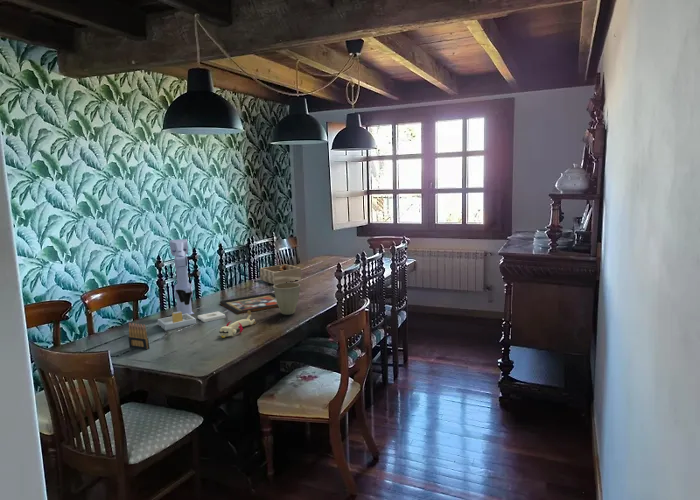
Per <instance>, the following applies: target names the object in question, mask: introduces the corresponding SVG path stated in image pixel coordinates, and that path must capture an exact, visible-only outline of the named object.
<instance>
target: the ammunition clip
mask: <svg viewBox="0 0 700 500" xmlns="http://www.w3.org/2000/svg"><path fill="white" fill-rule="evenodd" d="M128 345H129V348H131V349H137V350H145V351H147V350H149V349H150V344H149V337H148V332H147V328H146V325H145V323H143V324H142V323H136V322H130V321H129V322H128Z"/></svg>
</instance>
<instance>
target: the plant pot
mask: <svg viewBox="0 0 700 500" xmlns="http://www.w3.org/2000/svg"><path fill="white" fill-rule="evenodd" d="M272 288H273V293H274V294H275V297H276V301H277V304H278V306H279V307H278V309H279V311H280V313H281V315H293V314H295V312H296V309H297V305H298V301H299V297H300V288H301V284H300V283H298V282H287V283H279V284H276V285H274V284H273V287H272Z"/></svg>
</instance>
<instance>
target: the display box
mask: <svg viewBox="0 0 700 500" xmlns="http://www.w3.org/2000/svg"><path fill="white" fill-rule="evenodd" d="M283 265H286V267H287V269H286V270H284V271H279V267H281V266H283ZM301 269H302V268H301V267H298V266H294V265H290V264H286V263H283V264H279V265H272V266H265V267H261V268H259V274H260V275H259V276H260V279H259V280H260V281H263V282H266V283H268V284H272V285H273V286H274V285H276V284H279V283H286V282H287V283H288V282H290V281H293V282H296V281H295V280H298V281H302V270H301Z"/></svg>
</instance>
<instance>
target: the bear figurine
mask: <svg viewBox="0 0 700 500" xmlns="http://www.w3.org/2000/svg"><path fill="white" fill-rule="evenodd" d="M282 265H283V266H281V267H279V271H284V270H286V269H287V267H286V265H284V264H282Z"/></svg>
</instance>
